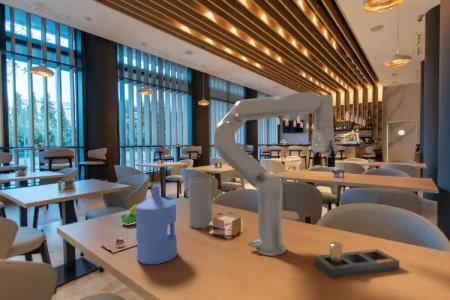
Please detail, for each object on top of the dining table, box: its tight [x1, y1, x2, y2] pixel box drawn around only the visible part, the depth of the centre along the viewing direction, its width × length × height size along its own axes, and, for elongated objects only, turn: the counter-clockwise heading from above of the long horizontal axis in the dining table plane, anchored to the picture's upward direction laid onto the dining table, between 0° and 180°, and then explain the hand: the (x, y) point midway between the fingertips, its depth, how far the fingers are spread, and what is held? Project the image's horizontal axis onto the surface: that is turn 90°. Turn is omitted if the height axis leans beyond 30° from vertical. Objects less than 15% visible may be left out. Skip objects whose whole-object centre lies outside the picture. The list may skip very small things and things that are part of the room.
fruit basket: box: [120, 203, 139, 224], centre depth 146 cm, size 11×9×11 cm
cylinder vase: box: [187, 177, 213, 229], centre depth 140 cm, size 12×12×25 cm
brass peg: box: [329, 241, 343, 266], centre depth 90 cm, size 4×4×9 cm
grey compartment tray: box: [314, 248, 400, 280], centre depth 92 cm, size 26×10×3 cm, turn 101°
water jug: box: [135, 185, 178, 265], centre depth 103 cm, size 16×16×28 cm
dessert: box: [114, 236, 126, 246], centre depth 115 cm, size 12×12×5 cm
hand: (323, 166), depth 108 cm, fingers open, 9 cm apart
